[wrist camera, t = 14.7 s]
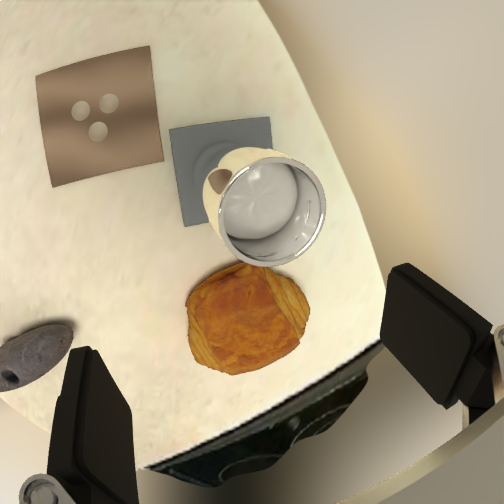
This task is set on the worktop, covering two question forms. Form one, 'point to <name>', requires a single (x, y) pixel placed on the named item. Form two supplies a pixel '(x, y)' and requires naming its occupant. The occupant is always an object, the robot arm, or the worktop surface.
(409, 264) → the robot arm
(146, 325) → the worktop surface
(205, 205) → the beer glass
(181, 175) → the rubber mat
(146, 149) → the dot tile
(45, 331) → the perforated stone tool
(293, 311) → the croissant
